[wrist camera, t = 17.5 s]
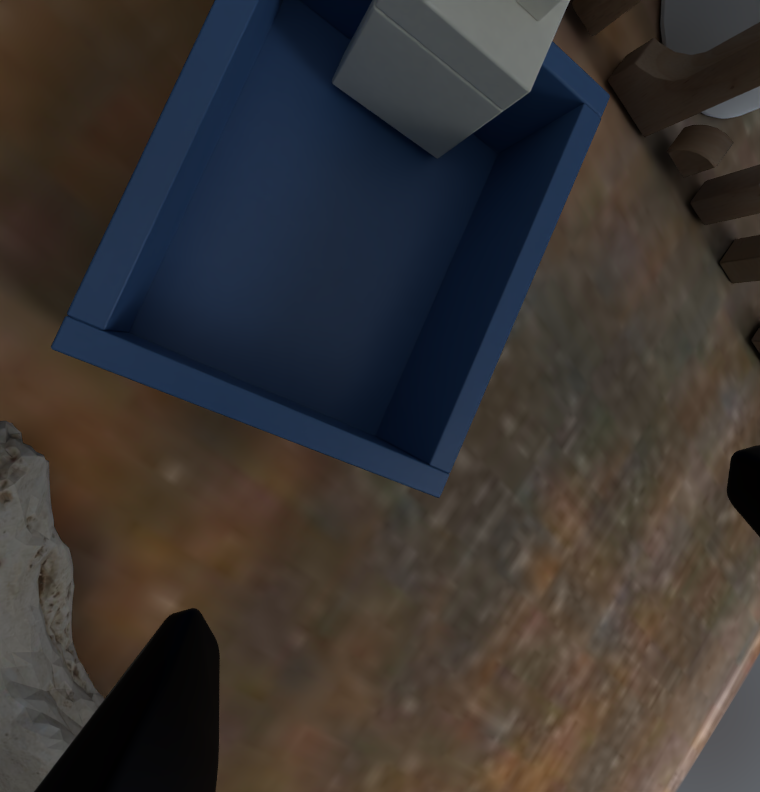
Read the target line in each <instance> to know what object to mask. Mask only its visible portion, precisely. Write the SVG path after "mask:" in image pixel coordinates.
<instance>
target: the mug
mask: <svg viewBox="0 0 760 792" xmlns="http://www.w3.org/2000/svg"><path fill="white" fill-rule="evenodd" d="M759 22H760V0H662V1H661V20H660V28H661V37H662V44H663V45H664V46H666V47H668V48H669V49H671V50H673V51H674V52H678V53H684V54H689V55H693V54H698V53H703V52H707V51H709V50H710V49H712V48H714V47H716V46H718V45H719V44H721V43H723V42H725V41H727V40H728V39H730V38H732V37H734V36H736V35H737V34H739V33H741V32H743V31H745V30H746V29H748V28H750V27H752V26H754V25H755V24H757V23H759ZM758 108H760V86H759V87H757V88H754V89H752V90H750V91H748V92H745V93H743V94H741V95H739V96H736V97H734V98H732V99H730V100H727V101H725V102H723V103H721V104H718V105H716V106H714V107H712V108H709V109H707V110H705V111H702V112H701V113H703V114H705V115H706V116H711V117H715V118H720V119H727V118H732V117H737V116H741V115H744V114H746V113H748V112H751V111H753V110H756V109H758Z"/></svg>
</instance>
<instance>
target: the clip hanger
mask: <svg viewBox="0 0 760 792" xmlns="http://www.w3.org/2000/svg"><path fill="white" fill-rule="evenodd" d="M569 1H570V0H372V2H371V4H370V6H369V8H368V10H367V11H366V13H365V15H364V17H363V19H362V21H361V23H360V24H359V26H358V28H357V30H356V32H355V34H354V36H353V37H352V39H351V41H350V43H349V45H348V47H347V49H346V51H345V52H344V55H343V57H342V59H341V61H340V63H339V66H338V68H337V70H336V72H335V74H334V77H333V79H332V83H333V85H335V86H336V87H338V88H339V89H340V90H342V91H343V92H345V93H346V94H347V95H349V96H350V97H352V98H353V99H354V100H356V101H357V102H359V103H360V104H361V105H363V106H364V107H365V108H367V109H368V110H370V111H371V112H372V113H374V114H375V115H377V116H378V117H379V118H381V119H382V120H384V121H385V122H386V123H388V124H389V125H391V126H392V127H393V128H395V129H396V130H398V131H399V132H400V133H402V134H403V135H405V136H406V137H407V138H409V139H410V140H412V141H413V142H414V143H416V144H417V145H419V146H420V147H421V148H423V149H424V150H426V151H427V152H428V153H430V154H431V155H433V156H434V157H435V158H439V157H441V156H442V155H444V154H445V153H446V152H448V151H449V150H450V149H452V148H453V147H455V146H456V145H457V144H459V143H460V142H462V141H463V140H464V139H466V138H467V137H468V136H470V135H471V134H473V133H474V132H475V131H477V130H478V129H479V128H481V127H482V126H484V125H485V124H486V123H488V122H489V121H490V120H492V119H493V118H495V117H496V116H497V115H499V114H500V113H501V112H503V110H506V109H507V108H509V107H510V106H511V105H513V104H514V103H515V102H517V101H518V100H520V99H521V98H522V97H524V96H525V95H526V94H528V93H529V92H530V91H531V89H532V87H533V84H534V82H535V80H536V77H537V75H538V73H539V70H540V68H541V66H542V64H543V61H544V59H545V57H546V54H547V52H548V50H549V47H550V45H551V43H552V41H553V38H554V36H555V34H556V31H557V29H558V27H559V24H560V22H561V20H562V17H563V15H564V13H565V11H566V8H567V6H568V4H569Z"/></svg>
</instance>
